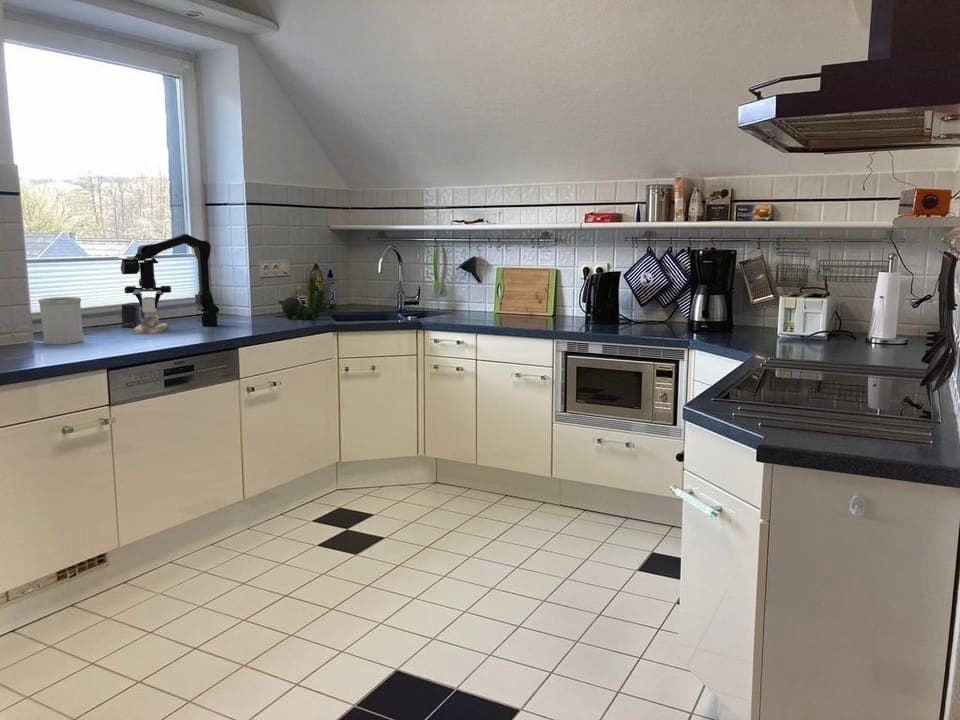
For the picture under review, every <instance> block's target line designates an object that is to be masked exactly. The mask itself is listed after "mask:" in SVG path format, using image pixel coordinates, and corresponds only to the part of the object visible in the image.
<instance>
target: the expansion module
mask: <svg viewBox="0 0 960 720" xmlns="http://www.w3.org/2000/svg"><path fill="white" fill-rule="evenodd" d="M142 308H143V312H145V313H156V312H157V309H155V297H154V296H152V297H151V296H146V297H142Z"/></svg>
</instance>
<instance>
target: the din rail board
mask: <svg viewBox="0 0 960 720" xmlns="http://www.w3.org/2000/svg"><path fill="white" fill-rule="evenodd" d="M159 318H160V317H159V315H158V314H155V315H152V314H151V315H146V316H145V319H142V320H141V324H139V325H138V326H137V327H133V328H134V329H132V334H133V335H134V334H139V335H140V334H163V333H164V332H165V330H167V328H168V323H160V321H159V320H160V319H159Z"/></svg>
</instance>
